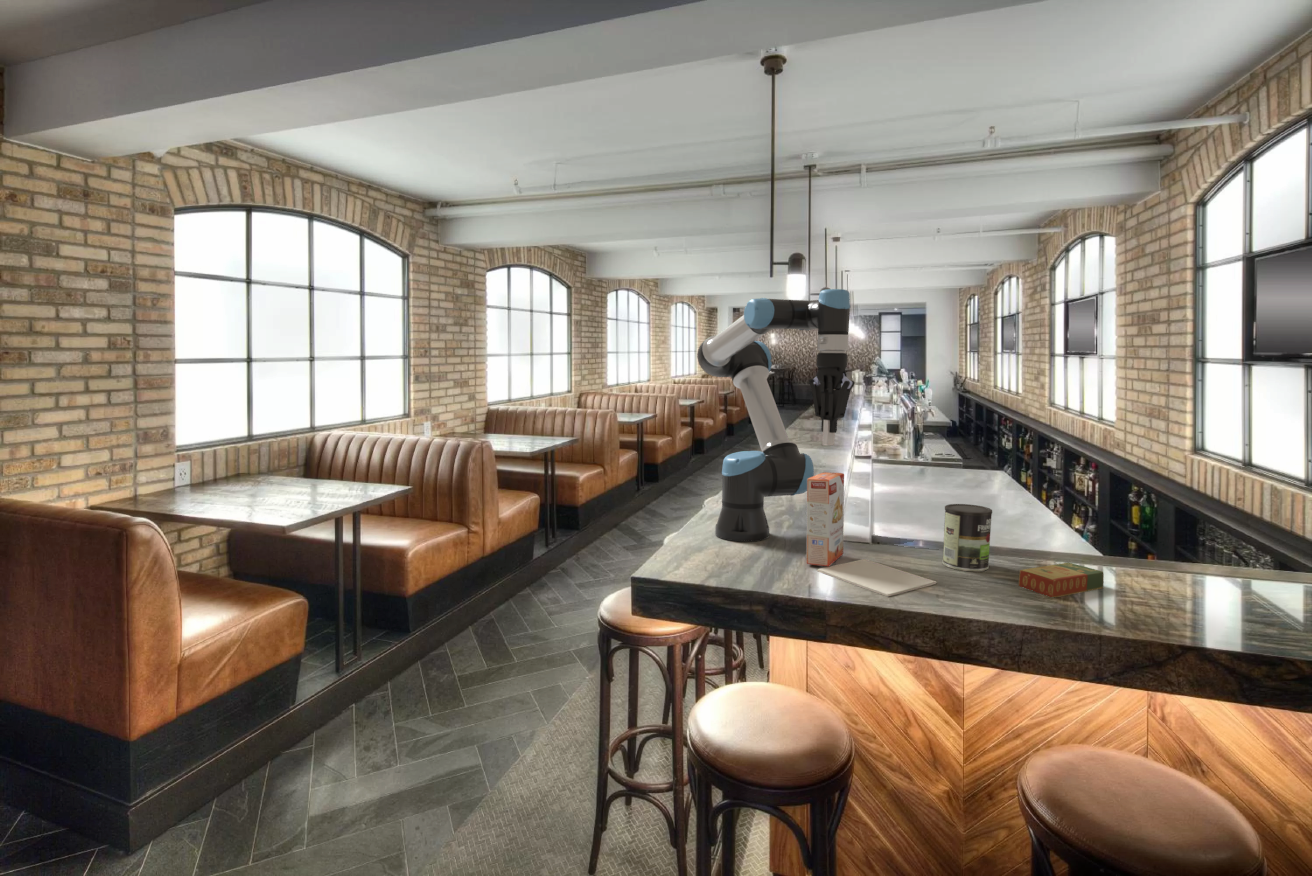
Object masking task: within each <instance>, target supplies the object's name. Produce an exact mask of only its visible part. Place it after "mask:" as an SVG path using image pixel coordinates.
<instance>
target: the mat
mask: <svg viewBox="0 0 1312 876" xmlns="http://www.w3.org/2000/svg"><path fill="white" fill-rule="evenodd" d="M816 571H817V572H819V573H821V574H824V575H827V576H829V577H832V578H834V579H837V580H840V581H842V582H843V581H844V582H846V583H849V584H851V585H854V586H857V587H860V588H863V589H865V590H867V591H870V592H873V593H876V594H879V595H881V596H884V597H892V596H896V595H900V594H903V593H907V592H910V591H914V590H919V589H921V588H926V587H930V586H933V585H937V581H936V580H933V579H929V578H926V577H923V576H919V575H917V574H913V573H911V572H907V571H904V570H901V569H898V568H894V567H891V566H888V565H885V564H882V563H878V562H876V561H872V560H869V559H867V558H863V559H858V560H854V561H849V562H844V563H839V564H836V565H835V564H834V565H830V566H829V567H827V566H824V567H821V568H818V569H817V570H816Z"/></svg>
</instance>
